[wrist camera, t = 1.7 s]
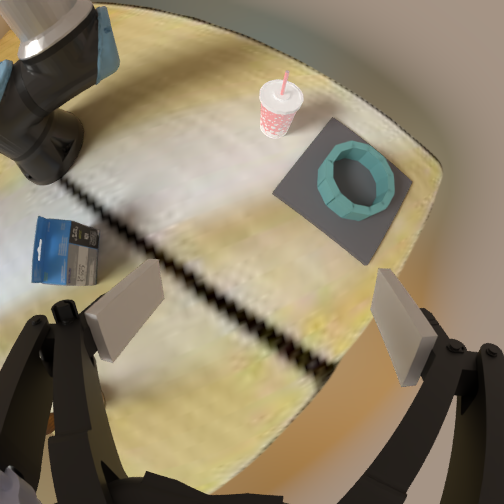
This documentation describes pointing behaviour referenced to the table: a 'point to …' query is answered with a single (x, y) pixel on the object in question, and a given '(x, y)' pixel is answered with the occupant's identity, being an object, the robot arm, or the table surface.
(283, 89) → the beverage cup
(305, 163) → the cup holder
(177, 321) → the table surface
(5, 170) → the table surface
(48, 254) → the label tape box
